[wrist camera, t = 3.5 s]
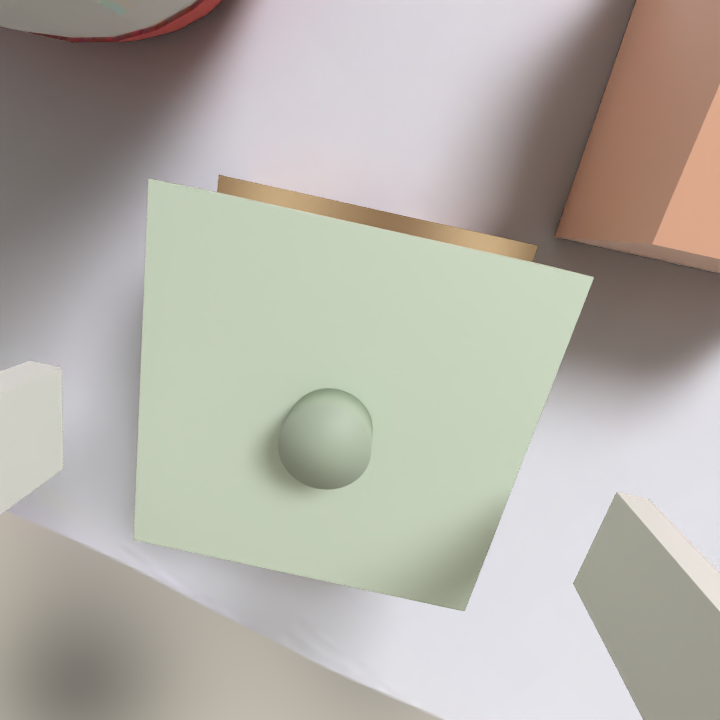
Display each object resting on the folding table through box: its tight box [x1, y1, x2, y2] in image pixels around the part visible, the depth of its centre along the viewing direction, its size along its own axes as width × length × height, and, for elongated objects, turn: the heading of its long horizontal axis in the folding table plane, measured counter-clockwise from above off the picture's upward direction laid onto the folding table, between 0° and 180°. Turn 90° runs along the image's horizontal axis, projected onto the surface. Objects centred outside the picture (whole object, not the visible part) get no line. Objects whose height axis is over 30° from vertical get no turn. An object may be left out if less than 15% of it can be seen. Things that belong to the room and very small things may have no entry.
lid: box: [134, 179, 594, 611], centre depth 13 cm, size 11×11×4 cm
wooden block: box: [217, 175, 538, 262], centre depth 16 cm, size 10×12×3 cm
